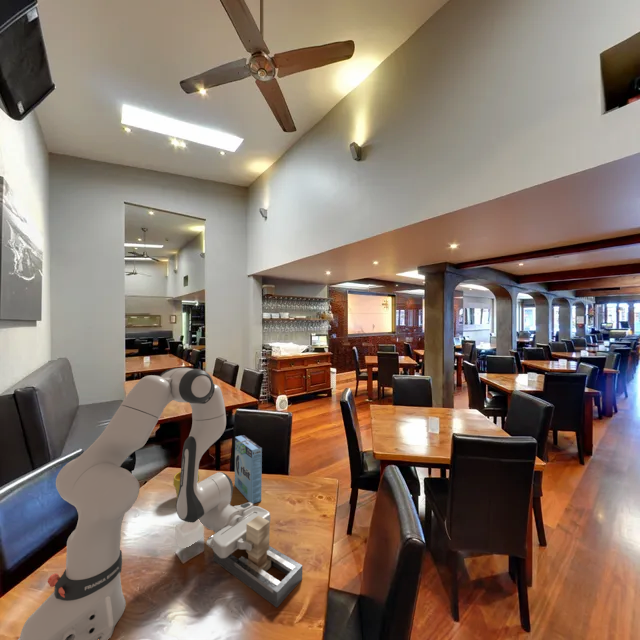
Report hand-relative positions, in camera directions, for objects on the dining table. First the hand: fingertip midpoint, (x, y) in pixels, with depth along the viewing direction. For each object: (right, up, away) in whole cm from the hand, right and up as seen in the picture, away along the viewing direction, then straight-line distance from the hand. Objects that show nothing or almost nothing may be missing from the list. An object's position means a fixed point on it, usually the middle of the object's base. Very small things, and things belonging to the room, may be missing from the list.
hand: (260, 540), depth 90 cm
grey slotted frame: (-2, -9, +1) cm, 9 cm away
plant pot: (-40, -10, +38) cm, 57 cm away
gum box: (-15, -11, +42) cm, 46 cm away
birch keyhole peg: (-1, -9, 0) cm, 9 cm away
